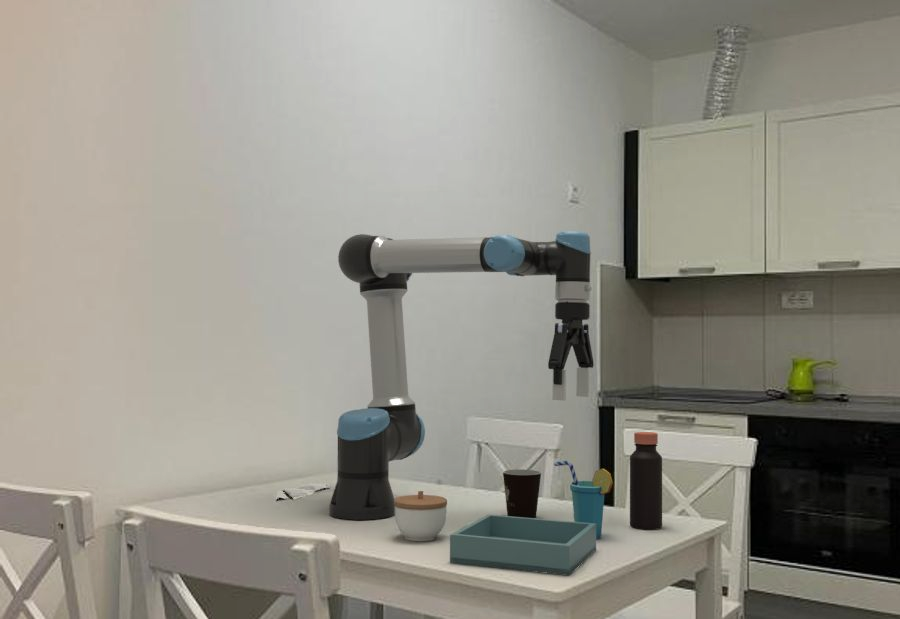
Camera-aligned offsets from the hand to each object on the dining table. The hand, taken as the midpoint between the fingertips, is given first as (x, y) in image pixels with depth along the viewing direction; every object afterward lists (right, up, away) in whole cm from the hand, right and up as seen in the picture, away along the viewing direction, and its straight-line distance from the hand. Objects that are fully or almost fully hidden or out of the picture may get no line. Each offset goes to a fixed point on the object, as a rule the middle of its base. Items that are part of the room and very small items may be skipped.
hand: (571, 398), depth 199 cm
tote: (-13, -26, -31) cm, 43 cm away
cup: (+1, -27, -14) cm, 30 cm away
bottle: (+15, -27, -5) cm, 32 cm away
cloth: (-65, -29, +34) cm, 79 cm away
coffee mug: (-10, -27, +6) cm, 30 cm away
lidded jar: (-33, -27, -17) cm, 45 cm away
